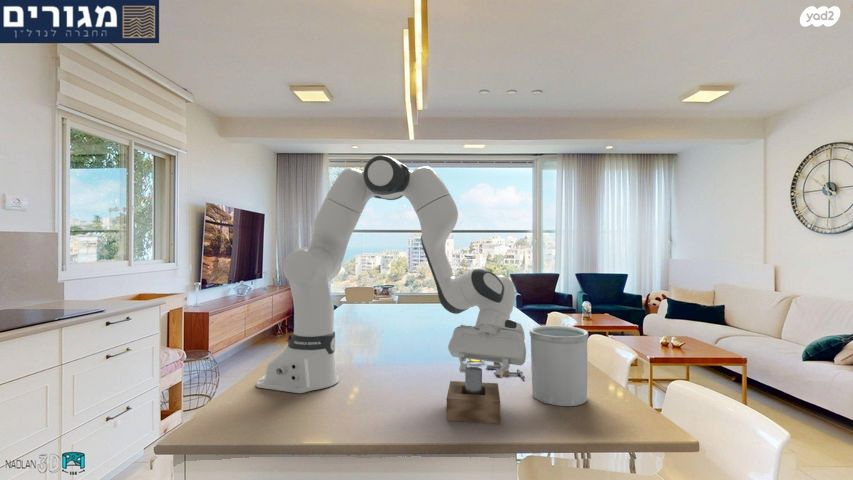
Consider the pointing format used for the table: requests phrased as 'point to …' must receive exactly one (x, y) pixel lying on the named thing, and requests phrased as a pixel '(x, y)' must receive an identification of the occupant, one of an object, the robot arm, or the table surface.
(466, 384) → the peg
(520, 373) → the clamp
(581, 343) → the utensil holder
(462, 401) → the socket
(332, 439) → the table surface
